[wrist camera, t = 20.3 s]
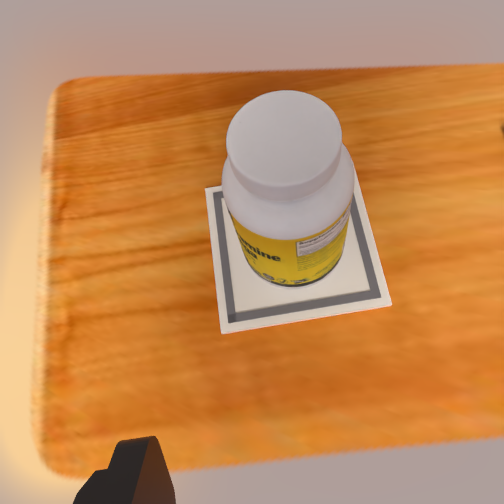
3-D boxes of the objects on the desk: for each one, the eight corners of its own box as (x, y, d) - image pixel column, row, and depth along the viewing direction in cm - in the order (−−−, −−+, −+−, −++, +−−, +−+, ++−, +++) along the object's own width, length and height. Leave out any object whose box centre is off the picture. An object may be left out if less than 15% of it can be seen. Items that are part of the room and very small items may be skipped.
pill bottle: (226, 233, 29) (179, 121, 19) (306, 185, 30) (303, 51, 20) (278, 312, 27) (256, 231, 17) (364, 257, 27) (394, 147, 17)
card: (352, 163, 30) (352, 160, 30) (391, 306, 26) (392, 304, 26) (206, 190, 31) (204, 187, 31) (222, 334, 27) (220, 332, 26)
